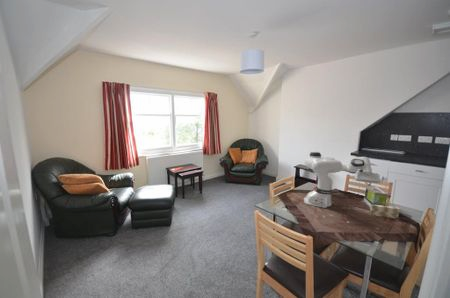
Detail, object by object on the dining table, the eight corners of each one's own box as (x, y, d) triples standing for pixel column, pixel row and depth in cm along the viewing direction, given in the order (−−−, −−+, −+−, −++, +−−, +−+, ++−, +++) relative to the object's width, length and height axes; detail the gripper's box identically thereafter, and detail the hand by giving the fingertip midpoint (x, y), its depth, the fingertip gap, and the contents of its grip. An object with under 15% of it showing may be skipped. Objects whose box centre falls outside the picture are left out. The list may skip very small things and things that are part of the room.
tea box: (385, 210, 168) (388, 193, 165) (371, 209, 170) (374, 192, 167) (375, 202, 182) (378, 186, 179) (363, 201, 184) (365, 185, 181)
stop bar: (370, 215, 161) (372, 205, 159) (369, 213, 163) (370, 204, 162) (397, 218, 156) (399, 209, 154) (395, 216, 159) (397, 207, 157)
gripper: (377, 175, 196) (380, 188, 189) (353, 172, 201) (355, 185, 194) (380, 172, 191) (383, 186, 184) (356, 170, 196) (357, 183, 189)
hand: (368, 186), depth 189 cm, fingers closed
